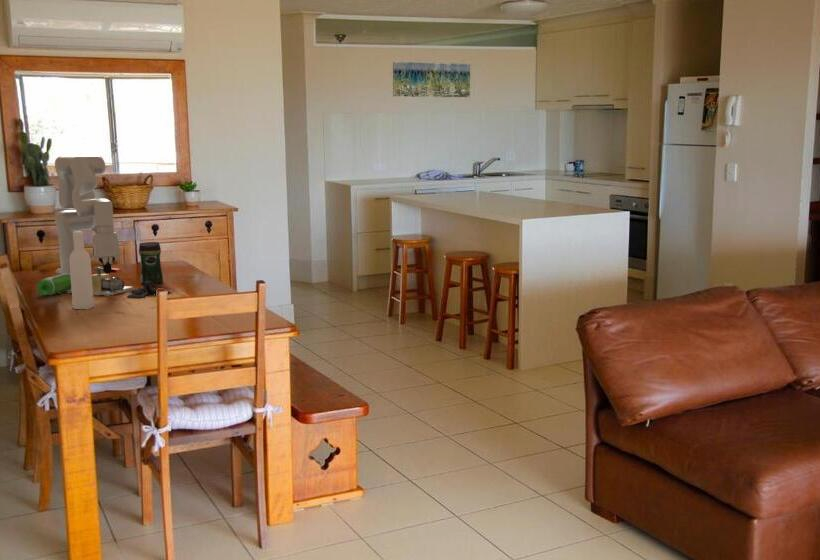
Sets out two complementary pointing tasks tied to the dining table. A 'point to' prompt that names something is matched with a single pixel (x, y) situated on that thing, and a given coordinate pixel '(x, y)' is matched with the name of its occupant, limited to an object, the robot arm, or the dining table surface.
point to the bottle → (81, 274)
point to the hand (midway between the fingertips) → (107, 273)
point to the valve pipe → (106, 285)
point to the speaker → (55, 284)
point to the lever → (113, 270)
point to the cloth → (145, 291)
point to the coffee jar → (150, 262)
